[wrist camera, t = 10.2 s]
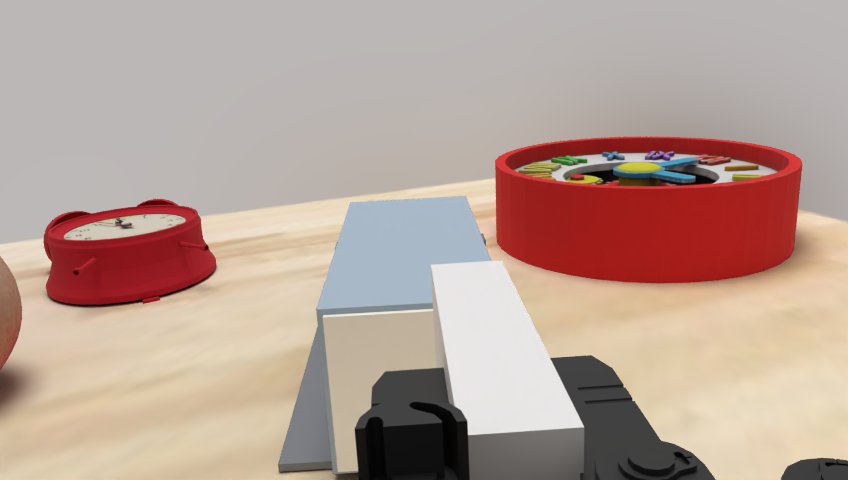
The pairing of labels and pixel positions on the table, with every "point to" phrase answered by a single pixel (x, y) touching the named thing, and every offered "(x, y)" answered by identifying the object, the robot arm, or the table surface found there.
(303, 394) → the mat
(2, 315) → the fruit
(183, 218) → the alarm clock
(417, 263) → the blue-grey rectangular block
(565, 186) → the toy clock
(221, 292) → the table surface
